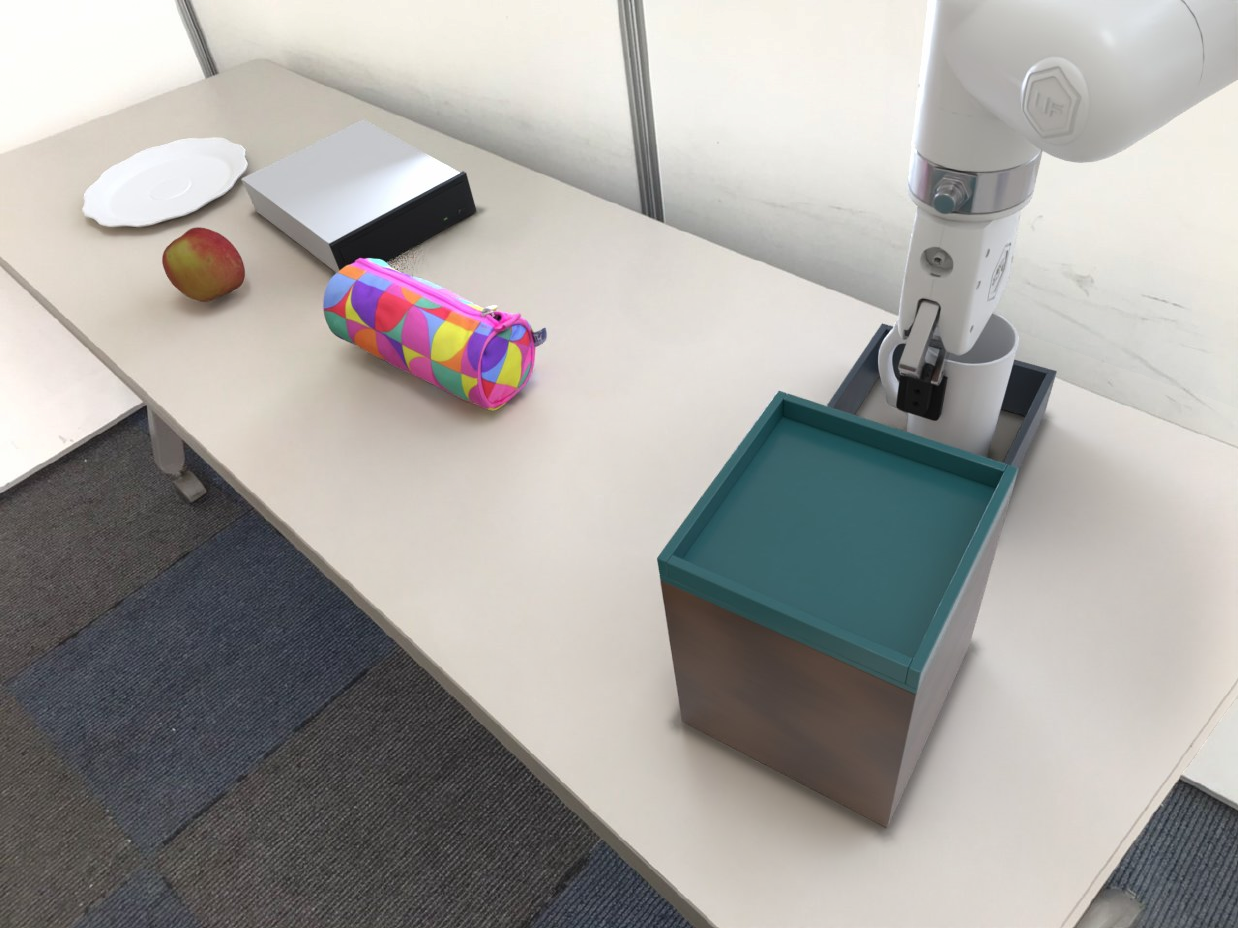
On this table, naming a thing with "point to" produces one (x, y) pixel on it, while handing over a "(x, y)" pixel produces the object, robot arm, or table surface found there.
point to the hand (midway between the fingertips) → (936, 379)
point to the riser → (813, 698)
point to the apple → (203, 264)
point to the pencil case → (432, 332)
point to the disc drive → (360, 195)
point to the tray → (842, 535)
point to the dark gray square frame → (1021, 397)
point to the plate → (164, 182)
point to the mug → (962, 387)
